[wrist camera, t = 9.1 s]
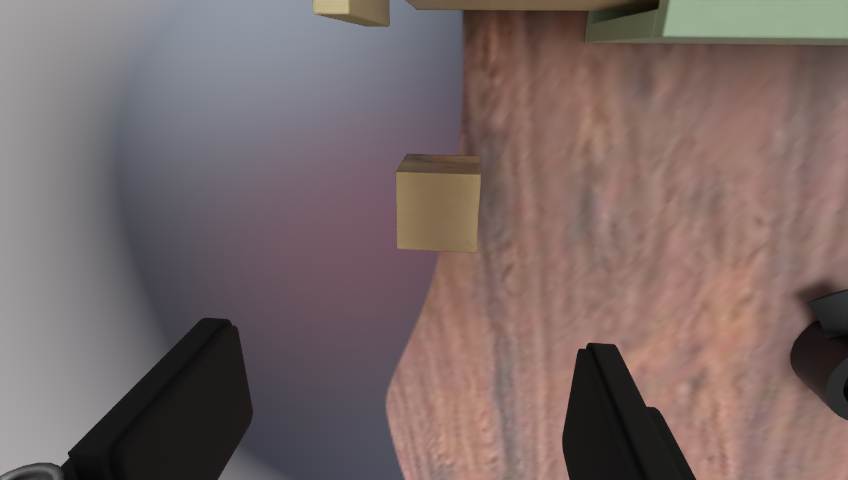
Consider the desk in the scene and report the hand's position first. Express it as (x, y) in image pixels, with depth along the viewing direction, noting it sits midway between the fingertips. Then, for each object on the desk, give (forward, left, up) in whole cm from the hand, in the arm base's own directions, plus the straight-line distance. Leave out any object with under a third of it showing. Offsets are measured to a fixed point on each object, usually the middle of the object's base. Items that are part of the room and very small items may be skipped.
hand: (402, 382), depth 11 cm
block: (0, 0, -16) cm, 16 cm away
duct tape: (+25, -9, -16) cm, 31 cm away
